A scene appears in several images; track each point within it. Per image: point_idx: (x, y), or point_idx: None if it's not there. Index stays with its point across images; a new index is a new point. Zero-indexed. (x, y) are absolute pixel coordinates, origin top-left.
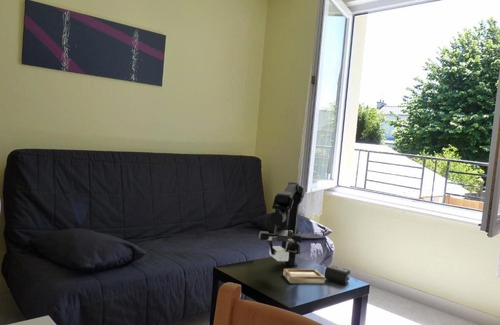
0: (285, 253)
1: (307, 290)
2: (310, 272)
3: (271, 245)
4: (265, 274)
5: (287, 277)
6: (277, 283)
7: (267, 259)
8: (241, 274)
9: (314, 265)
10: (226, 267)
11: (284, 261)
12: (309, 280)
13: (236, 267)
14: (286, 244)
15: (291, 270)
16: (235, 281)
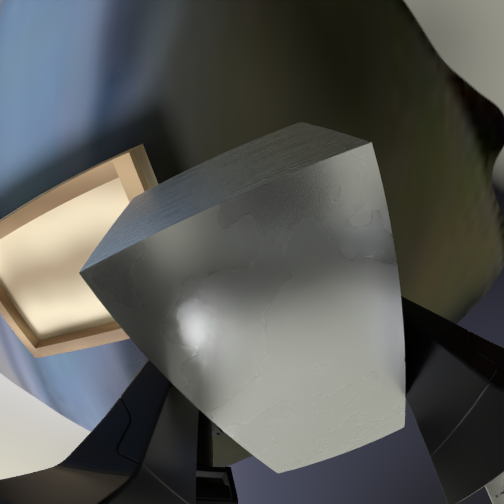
0: (167, 217)
1: (43, 60)
2: (47, 325)
3: (493, 364)
4: None
5: None
6: (245, 106)
7: None
8: (448, 217)
9: (90, 424)
10: (476, 288)
11: (210, 429)
12: (26, 203)
13: (442, 306)
14: (185, 498)
15: None
16: (480, 102)
